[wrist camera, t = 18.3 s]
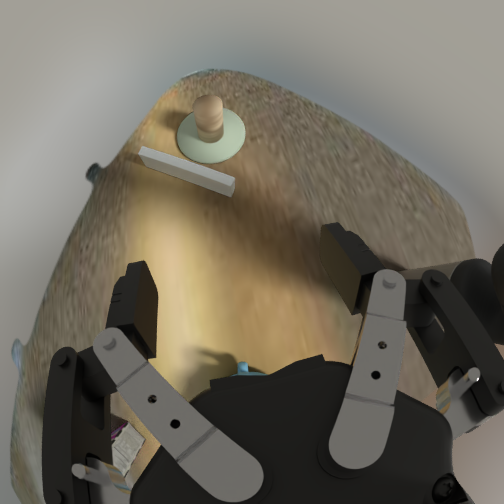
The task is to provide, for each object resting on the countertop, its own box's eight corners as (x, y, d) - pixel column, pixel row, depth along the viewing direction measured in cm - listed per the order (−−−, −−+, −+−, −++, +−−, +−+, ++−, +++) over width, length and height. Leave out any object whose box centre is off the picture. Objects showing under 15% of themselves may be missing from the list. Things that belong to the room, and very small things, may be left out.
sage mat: (238, 104, 47) (238, 102, 47) (251, 157, 46) (251, 155, 45) (174, 115, 46) (174, 113, 45) (181, 170, 45) (180, 169, 44)
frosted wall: (234, 189, 45) (235, 177, 40) (231, 197, 44) (230, 186, 39) (150, 159, 44) (142, 146, 40) (146, 166, 44) (137, 153, 39)
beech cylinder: (222, 121, 46) (220, 93, 38) (225, 141, 45) (224, 114, 37) (197, 124, 45) (191, 97, 37) (199, 145, 45) (193, 118, 37)
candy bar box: (113, 461, 36) (80, 508, 20) (94, 443, 36) (55, 485, 20) (148, 439, 38) (118, 492, 22) (128, 419, 38) (89, 466, 22)
